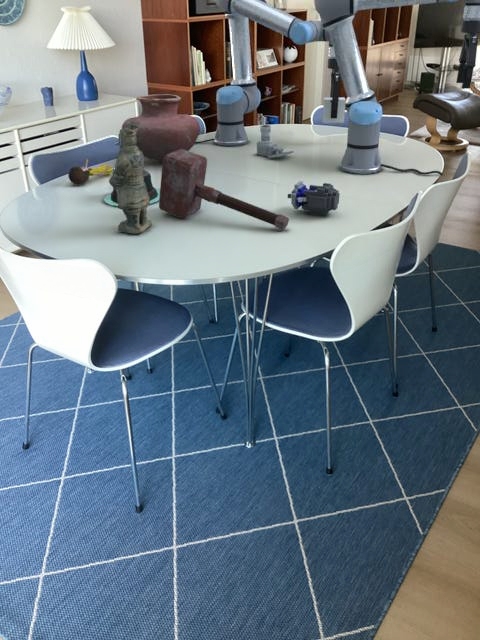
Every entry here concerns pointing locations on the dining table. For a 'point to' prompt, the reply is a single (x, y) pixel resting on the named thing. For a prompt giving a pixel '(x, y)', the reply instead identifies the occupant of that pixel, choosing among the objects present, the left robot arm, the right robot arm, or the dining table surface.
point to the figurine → (87, 173)
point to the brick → (327, 111)
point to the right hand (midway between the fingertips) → (462, 85)
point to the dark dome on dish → (152, 192)
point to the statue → (131, 182)
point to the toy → (315, 198)
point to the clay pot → (163, 127)
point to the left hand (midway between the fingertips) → (333, 116)
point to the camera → (268, 144)
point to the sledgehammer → (200, 190)
